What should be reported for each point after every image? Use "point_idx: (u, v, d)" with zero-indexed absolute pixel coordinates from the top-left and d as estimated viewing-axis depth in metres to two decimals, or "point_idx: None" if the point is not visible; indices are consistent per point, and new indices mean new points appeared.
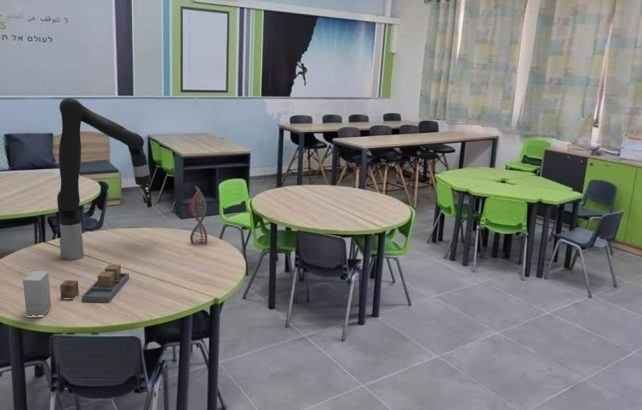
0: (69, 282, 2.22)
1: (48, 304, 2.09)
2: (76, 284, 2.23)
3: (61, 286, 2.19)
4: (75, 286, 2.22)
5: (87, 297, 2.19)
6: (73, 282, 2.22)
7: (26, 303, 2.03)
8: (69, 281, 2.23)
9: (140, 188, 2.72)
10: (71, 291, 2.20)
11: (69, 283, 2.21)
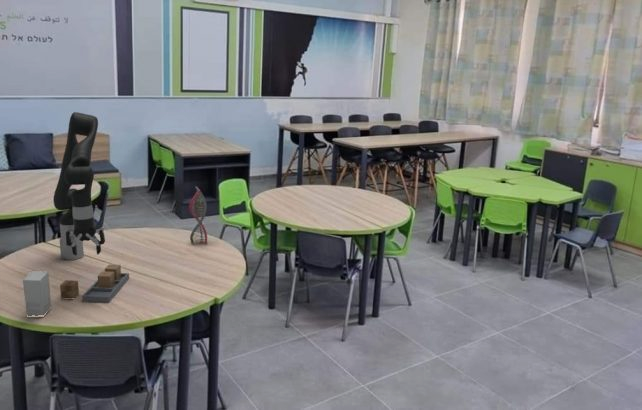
0: (69, 282, 2.22)
1: (48, 304, 2.09)
2: (76, 284, 2.23)
3: (61, 286, 2.19)
4: (75, 286, 2.22)
5: (87, 297, 2.19)
6: (73, 282, 2.22)
7: (26, 303, 2.03)
8: (69, 281, 2.23)
9: None
10: (71, 291, 2.20)
11: (69, 283, 2.21)
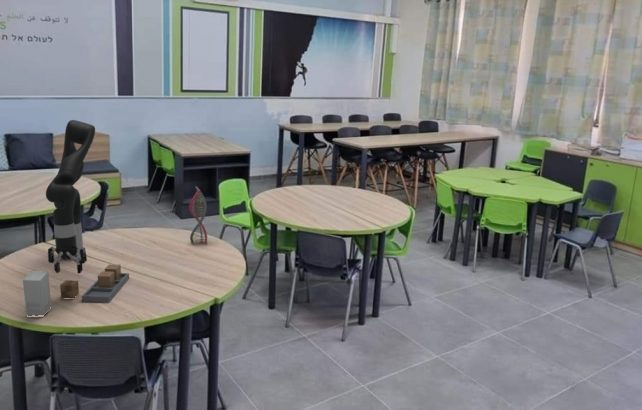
0: (69, 282, 2.22)
1: (48, 304, 2.09)
2: (76, 284, 2.23)
3: (61, 286, 2.19)
4: (75, 286, 2.22)
5: (87, 297, 2.19)
6: (73, 282, 2.22)
7: (26, 303, 2.03)
8: (69, 281, 2.23)
9: None
10: (71, 291, 2.20)
11: (69, 283, 2.21)
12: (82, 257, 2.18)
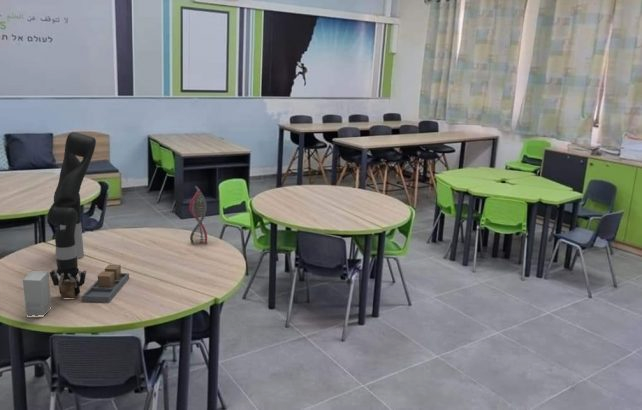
0: (69, 282, 2.22)
1: (48, 304, 2.09)
2: None
3: (61, 286, 2.19)
4: None
5: (87, 297, 2.19)
6: None
7: (26, 303, 2.03)
8: (69, 281, 2.23)
9: None
10: (71, 291, 2.20)
11: (69, 283, 2.21)
12: (81, 280, 2.20)
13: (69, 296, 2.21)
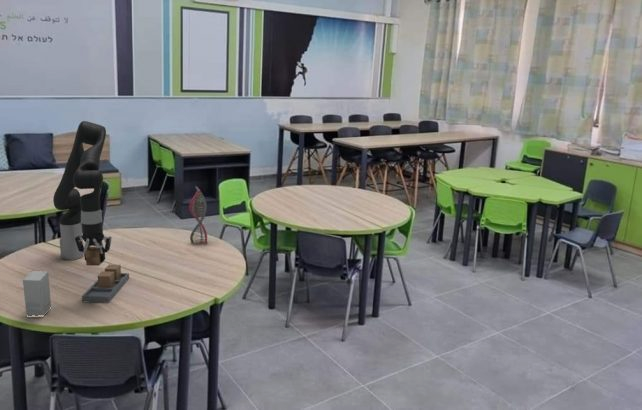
0: (94, 248, 2.18)
1: (48, 304, 2.09)
2: None
3: (86, 252, 2.15)
4: None
5: (87, 297, 2.19)
6: None
7: (26, 303, 2.03)
8: (94, 247, 2.19)
9: None
10: (96, 257, 2.16)
11: (94, 249, 2.17)
12: (106, 246, 2.16)
13: (94, 262, 2.16)
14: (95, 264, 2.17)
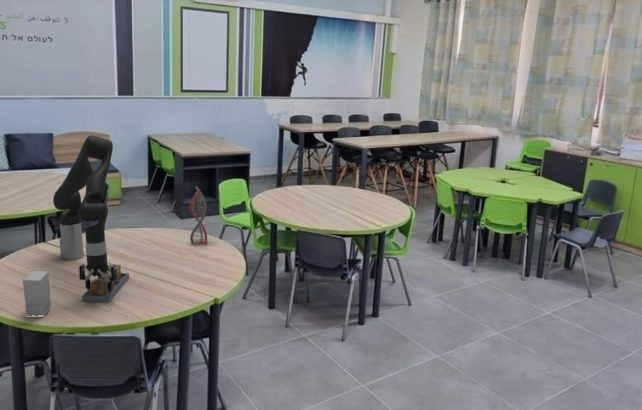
0: (99, 281, 2.22)
1: (48, 304, 2.09)
2: (106, 283, 2.23)
3: (91, 285, 2.19)
4: (105, 285, 2.22)
5: (87, 297, 2.19)
6: (103, 281, 2.22)
7: (26, 303, 2.03)
8: (99, 280, 2.23)
9: None
10: (101, 290, 2.20)
11: (99, 281, 2.21)
12: (113, 275, 2.20)
13: (99, 295, 2.21)
14: None
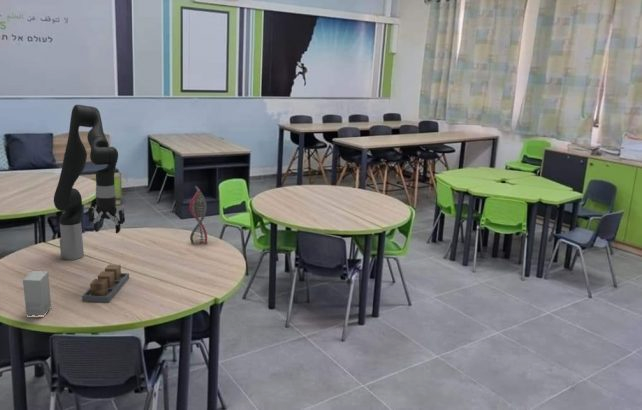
0: (99, 281, 2.22)
1: (48, 304, 2.09)
2: (106, 283, 2.23)
3: (91, 285, 2.19)
4: (105, 285, 2.22)
5: (87, 297, 2.19)
6: (103, 281, 2.22)
7: (26, 303, 2.03)
8: (99, 280, 2.23)
9: None
10: (101, 290, 2.20)
11: (99, 281, 2.21)
12: (121, 218, 2.28)
13: (99, 295, 2.21)
14: None
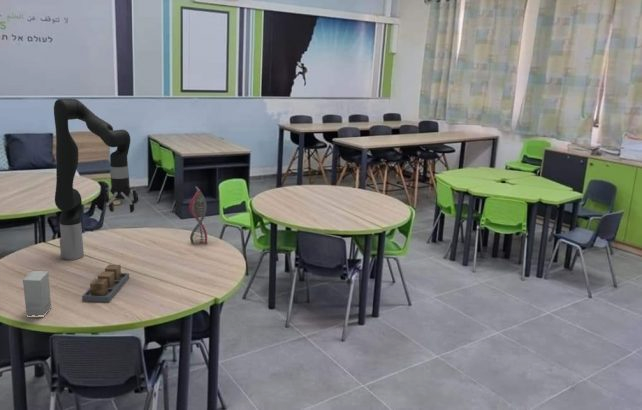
0: (99, 281, 2.22)
1: (48, 304, 2.09)
2: (106, 283, 2.23)
3: (91, 285, 2.19)
4: (105, 285, 2.22)
5: (87, 297, 2.19)
6: (103, 281, 2.22)
7: (26, 303, 2.03)
8: (99, 280, 2.23)
9: None
10: (101, 290, 2.20)
11: (99, 281, 2.21)
12: (135, 197, 2.40)
13: (99, 295, 2.21)
14: None
